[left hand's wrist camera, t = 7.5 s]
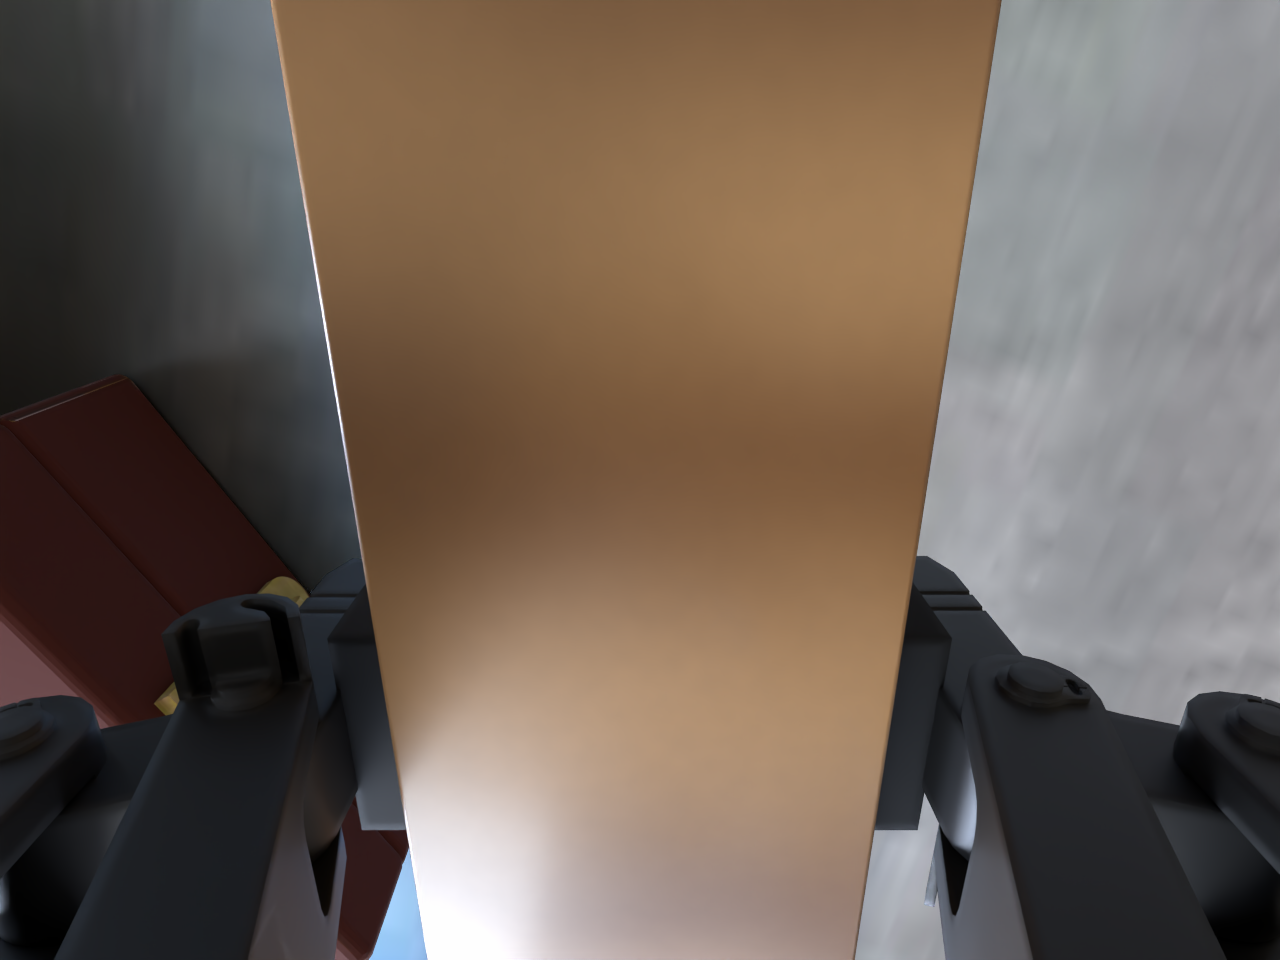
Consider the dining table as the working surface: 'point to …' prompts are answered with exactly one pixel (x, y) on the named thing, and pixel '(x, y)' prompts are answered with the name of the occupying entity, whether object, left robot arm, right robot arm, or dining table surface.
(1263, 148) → the dining table surface
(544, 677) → the beam
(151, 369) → the dining table surface
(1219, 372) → the dining table surface
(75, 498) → the box
